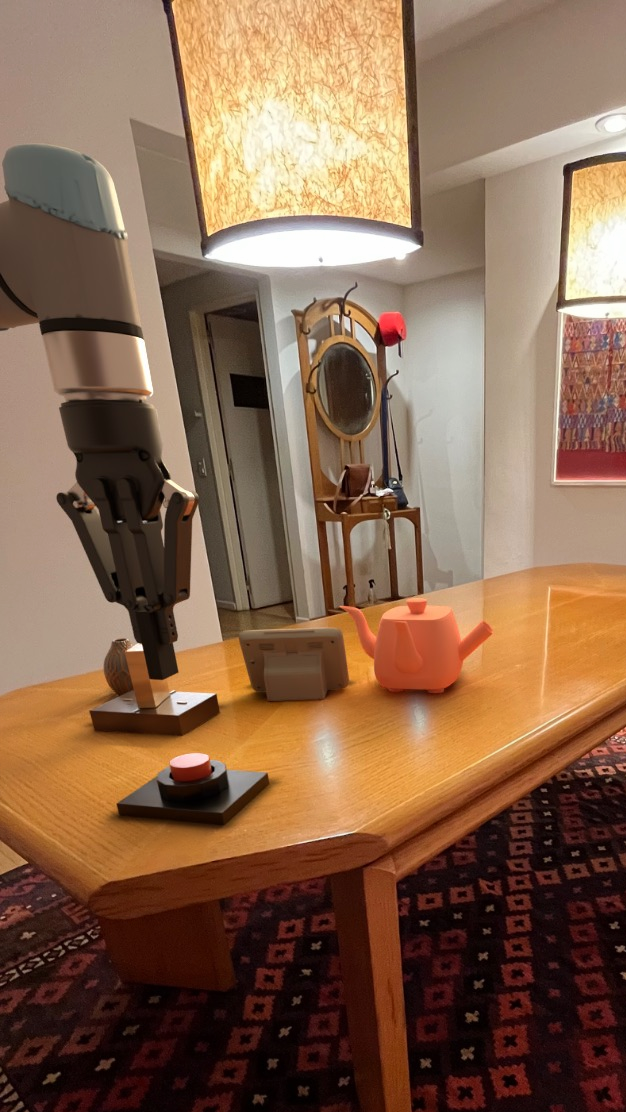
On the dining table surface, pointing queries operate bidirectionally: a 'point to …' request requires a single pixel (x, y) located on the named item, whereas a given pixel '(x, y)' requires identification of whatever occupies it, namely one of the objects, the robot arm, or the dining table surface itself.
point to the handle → (145, 680)
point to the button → (190, 767)
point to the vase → (118, 667)
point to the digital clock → (295, 662)
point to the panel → (156, 714)
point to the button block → (195, 796)
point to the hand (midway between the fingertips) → (164, 675)
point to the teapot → (417, 645)
